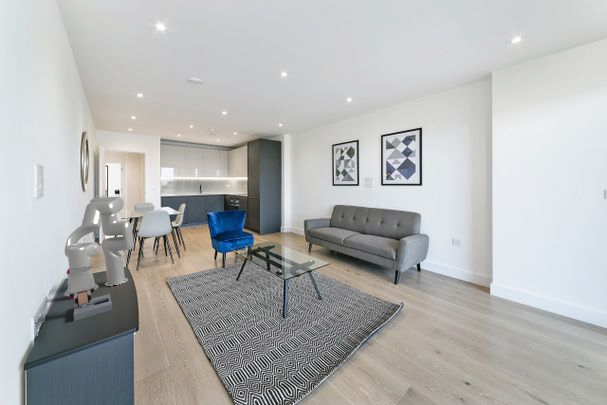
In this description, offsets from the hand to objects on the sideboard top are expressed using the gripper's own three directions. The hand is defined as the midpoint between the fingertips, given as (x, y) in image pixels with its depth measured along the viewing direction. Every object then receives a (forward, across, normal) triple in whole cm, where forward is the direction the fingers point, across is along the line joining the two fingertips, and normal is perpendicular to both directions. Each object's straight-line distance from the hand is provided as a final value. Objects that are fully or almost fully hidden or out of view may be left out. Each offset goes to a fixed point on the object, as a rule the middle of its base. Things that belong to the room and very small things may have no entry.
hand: (83, 303), depth 130 cm
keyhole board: (+5, -4, 0) cm, 6 cm away
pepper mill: (+5, +4, -28) cm, 29 cm away
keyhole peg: (+5, 0, 0) cm, 5 cm away
